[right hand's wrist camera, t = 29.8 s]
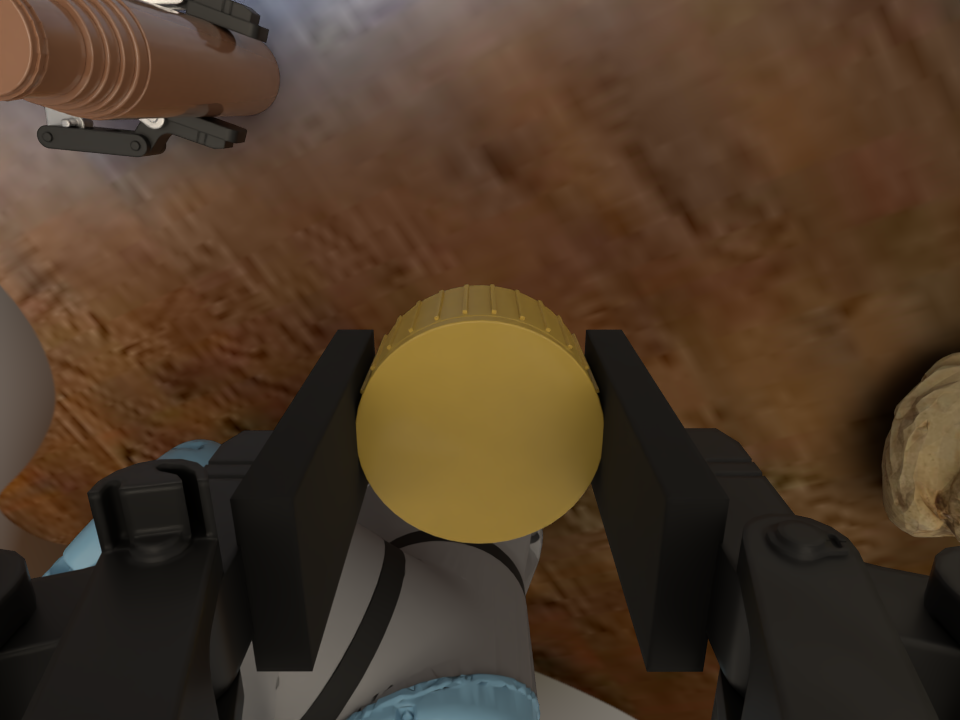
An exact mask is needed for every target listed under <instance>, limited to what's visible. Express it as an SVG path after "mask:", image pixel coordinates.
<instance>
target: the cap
mask: <svg viewBox="0 0 960 720" xmlns="http://www.w3.org/2000/svg"><path fill="white" fill-rule="evenodd" d="M599 392H600V391H599V388H598V386H597V384H596V381H595V379H594V376H593V374H592V372H591V369H590V367H589V365H588V362H587V360H586V358H585V355H584V354H583V352H582V350H581V347H580V345H579V343H578V340H577V338H576V336H575V334H572V335H571V333H570V331H569V330H568V328H567V327H566V326H565V325H564V323H563V321H562V318H561V317H560V316H559V315H558V316H556V315H555V314H554V313H553V312H552V311H551V310H549V309H548V308H547V307H545V306H544V305H543V303H542V301H540V300H538V301H536V300H534V299H532V298H530V297H528V296H526V295H525V294H522V293H520V291H519V290H515V291H513V290H510V289H506V288H501V287H496V286H494V285H492V284H490V286H483V285H479V286H469V285H464V287H459V288H453V289H450V290H447V291H444V290H441V291H439V293H438V294H436V295H433V296H431V297H429V298H427V299H425V300H423V301H422V302H421V301H418V302H417V304H416V306H414V307H413V308H412V309H410V310H409V311H408V312H407V313H406V314H405V315H403V316H401V315H400V316H399V317H398V319H397V322H396V324H395V325H394V327H393V328H392V330H391V331H390V333H389V334H388V335H386V334H385V335H384V337H383V339H382V342H381V344H380V346H379V349H378V351H377V354H376V355H375V357H374V359H373V362H372V364H371V366H370V369H369V371H368V373H367V376H366V378H365V381H364V383H363V385H362V388H361V390H360V393H361V394H362V396H361V399H360V402H359V405H358V409H357V415H356V434H357V448H358V457H359V461H360V464H361V467H362V469H363V472H364V474H365V476H366V478H367V480H368V482H369V483H370V485H371V487H372V488H373V490H374V492H375V493H376V494H377V495H378V497H379V498H380V499H381V500H382V502H383V503H384V504H385V505H386V506H387V507H388V508H389V509H390V510H392V511H393V512H394V513H395V514H396V515H397V516H399V517H400V518H401V519H403V520H404V521H406V522H407V523H409V524H410V525H412V526H414V527H416V528H417V529H419V530H422V531H424V532H426V533H429V534H431V535H433V536H437V537H440V538H443V539H447V540H452V541H457V542H463V543H477V544H479V543H496V542H503V541H509V540H512V539H516V538H520V537H523V536H526V535H529V534H531V533H534V532H536V531H538V530H540V529H542V528H544V527H546V526H548V525H549V524H551V523H553V522H554V521H555V520H557V519H558V518H560V517H561V516H563V515H564V514H565V513H566V512H567V511H568V510H569V509H570V508H571V507H573V506H574V504H575V503H576V502H577V501H578V500H579V499H580V498H581V496H582V495H583V494H584V492H585V491H586V489H587V488H588V486H589V485H590V483H591V482H592V480H593V477H594V475H595V473H596V471H597V469H598V466H599V463H600V460H601V454H602V442H603V427H604V417H603V410H602V407H601V403H600V400H599V396H598V394H597V393H599Z"/></svg>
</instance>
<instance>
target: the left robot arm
mask: <svg viewBox="0 0 960 720" xmlns="http://www.w3.org/2000/svg"><path fill="white" fill-rule="evenodd" d="M144 1H147V2H151V3H154V4H157V5H160V6H163V7H166V8H169V9H172V10H175V11H186V14H189V15H191V16H194V17H197V18H200V19H203V20H206V21H208V22H210V23H213V24H215V25H218V26H221V27H224V28H226V29H229V30H232V31H234V32H237V33H240V34H242V35H245V36H248V37H250V38H253V39H256V40H259V41H262V42H265V43H266V41H267V36H268V32H269V30H268V29H266V28H263V27H260V26H258V25H259V20H260V15H258V14H257V13H256V12H255V11H254V10H253V9H251V8H249V7H247V6H245V5H242V4H239V3H237V2H234V1H232V0H144ZM45 114H46V122H47V125H44V126H41V127H40V128H39V129H38V131H37V137H38V140H39V142H40V143H41V144H42V145H43V146H44V147H46V148H51V149H61V150H71V151H82V152H92V153H102V154H112V155H122V156H132V157H142V156H150V155H157V154H161V153H163V152H164V151H165V149H166V142H167V140H168V139H169V137H170V136H171V135H172V134H174V135H176V136H179V137H182V138H185V139H188V140H191V141H193V142H197V143H199V144H202V145H205V146H208V147H211V148H213V149H222V148H230V147H233V143H242V142H245V138H246V133H247V130H246V129H244V128H242V127H239V126H236V125H233V124H231V123H228V122H225V121H222V120H219V119H217V118H214V117H192V118H159V119H138V120H140V121H141V122H140V123H139V125H138V127H137V128H136V130H135V131H132V130H122V129H112V128H102V127H93V121H92V120H91V119H86V118H80V117H74V116H71V115H68V114H65V113H62V112H59V111H55V110H53V109H50V108H47V107H45Z"/></svg>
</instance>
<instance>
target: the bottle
mask: <svg viewBox="0 0 960 720" xmlns="http://www.w3.org/2000/svg"><path fill="white" fill-rule="evenodd" d="M279 85H280V74H279V68H278V65H277V62H276V60H275V58H274V56H273V54H272V52H271V51H270V50H269V48H268V47H267V46H266V45H265V44H264V43H263V42H261V41H259V40H256V39H253V38H250V37H248V36H245V35H242V34H240V33H237V32H234V31H232V30H229V29H226V28H224V27H221V26H218V25H215V24H213V23H210V22H208V21H206V20H203V19H200V18H197V17H194V16H191V15H188V14H185V13H181V12H178V11H175V10H172V9H169V8H166V7H163V6H160V5H157V4H154V3H151V2H147V1H144V0H0V101H12V100H19V99H24V100H26V101H29V102H32V103H35V104H39V105H41V106H44V107H47V108H50V109H53V110H55V111H59V112H62V113H65V114H68V115H71V116H74V117H80V118H86V119H91V120H126V119H159V118H192V117H225V116H251V115H255V114H258V113H261V112H262V111H264V110H265V109H267V108H268V107H269V106H270V105H271V104H272V102H273V101H274V100H275V98H276V96H277V93H278V90H279Z"/></svg>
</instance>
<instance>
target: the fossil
mask: <svg viewBox="0 0 960 720" xmlns="http://www.w3.org/2000/svg"><path fill="white" fill-rule="evenodd" d="M894 415H895V417H894V419H893V422H892V427H891V430H890V432H889V434H888V436H887V438H886V441H885V446H884V451H883V458H882V474H883V475H882V489H883V504H884V507H885V510H886V513H887V515H888V517H889V519H890V521H891V522H892V523H894V524H895V525H896V526H897V527H899V528H900V529H901V530H903V531H905V532H906V533H908V534H910V535H912V536H914V537H942V536H955V537H956V538H957V540H958V541H959V542H960V352H958V353H953V354H950V355H948V356H946V357H944V358H942V359H940V360H939V361H938V362H936V363H935V364H934V365H933V366H932V367H931V368H930V369H929V370H928V371H927V372H926V373H925V375H924V376H923V378H922V379H921V382H920V383H919V384H918V385H917V386H916V387H914V388H913V389H912V390H911V391H910V392H909V393H908V394H907V395H906V396H905V397H904V398H903V399H902V401H901V402H900V403H899V404H898V405H897V406H896V408H895V411H894Z"/></svg>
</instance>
